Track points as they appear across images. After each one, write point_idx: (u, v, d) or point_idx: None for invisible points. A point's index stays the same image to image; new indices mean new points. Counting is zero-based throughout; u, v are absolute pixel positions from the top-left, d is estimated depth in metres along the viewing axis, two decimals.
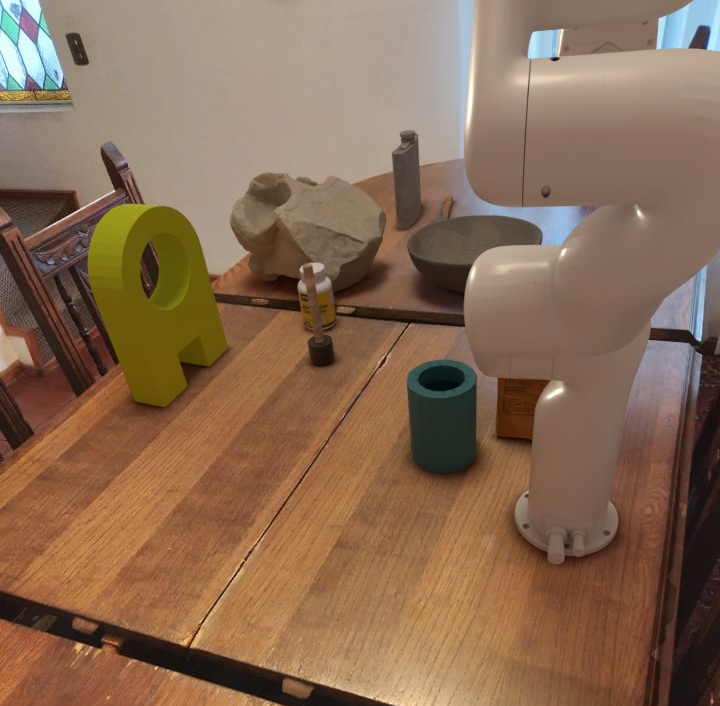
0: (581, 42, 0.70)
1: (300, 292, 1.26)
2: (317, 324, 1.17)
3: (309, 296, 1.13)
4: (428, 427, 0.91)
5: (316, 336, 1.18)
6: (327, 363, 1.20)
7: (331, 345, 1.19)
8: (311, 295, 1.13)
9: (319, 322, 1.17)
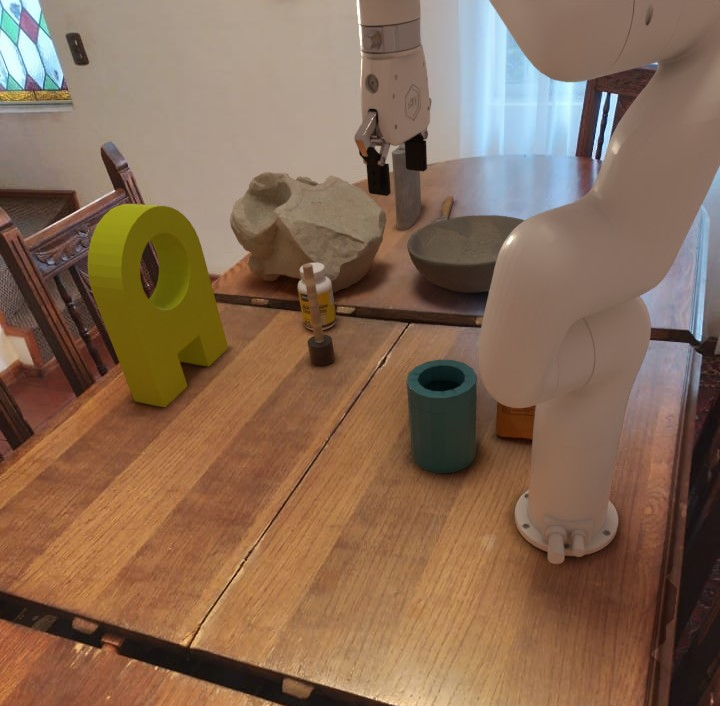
0: (400, 88, 0.83)
1: (300, 292, 1.26)
2: (317, 324, 1.17)
3: (309, 296, 1.13)
4: (428, 427, 0.91)
5: (316, 336, 1.18)
6: (327, 363, 1.20)
7: (331, 345, 1.19)
8: (311, 295, 1.13)
9: (319, 322, 1.17)
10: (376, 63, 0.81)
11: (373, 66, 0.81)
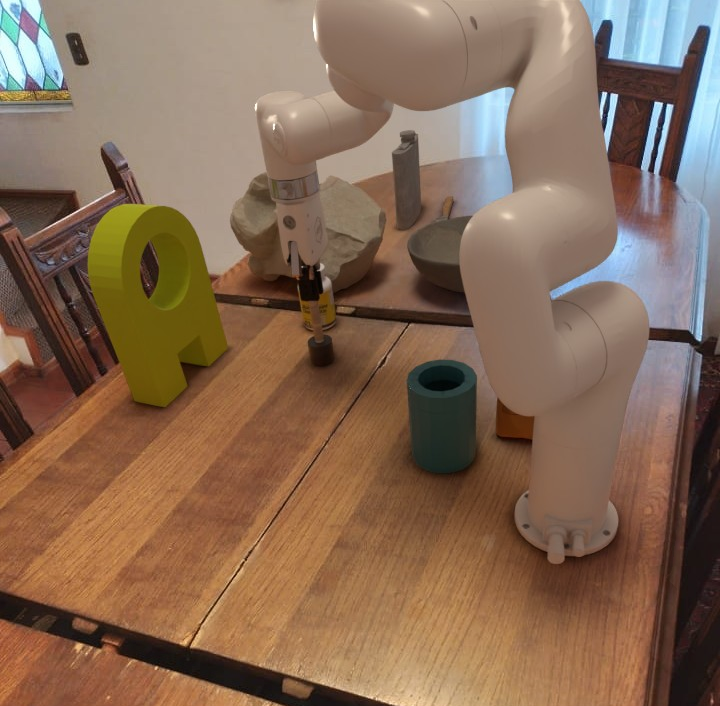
0: (311, 222, 1.03)
1: None
2: (317, 324, 1.17)
3: None
4: (428, 427, 0.91)
5: (316, 336, 1.18)
6: (327, 363, 1.20)
7: (331, 345, 1.19)
8: None
9: (319, 322, 1.17)
10: (291, 207, 1.00)
11: (289, 209, 1.00)
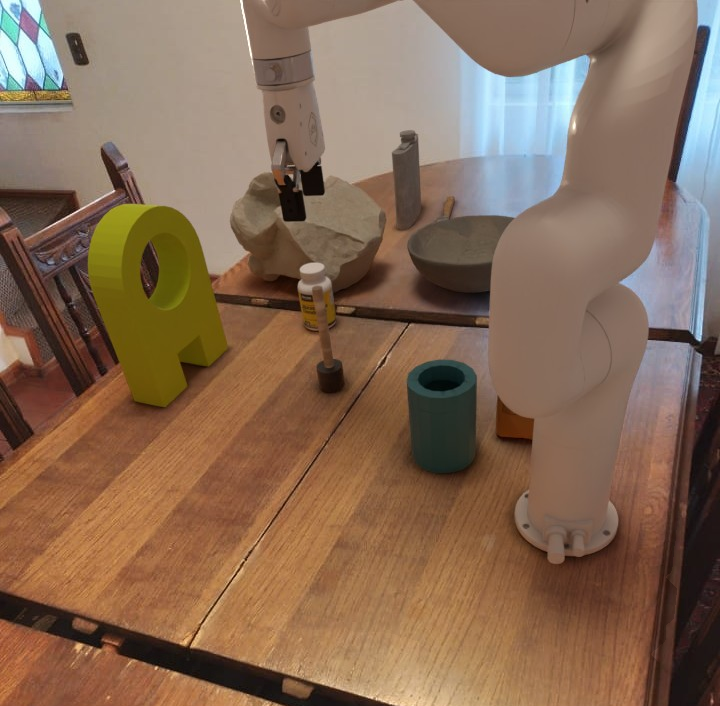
0: (304, 116, 0.85)
1: (300, 292, 1.26)
2: (327, 349, 1.10)
3: (319, 320, 1.07)
4: (428, 427, 0.91)
5: (326, 361, 1.11)
6: (337, 389, 1.14)
7: (341, 370, 1.13)
8: (321, 319, 1.06)
9: (329, 347, 1.10)
10: (280, 94, 0.82)
11: (277, 97, 0.83)
